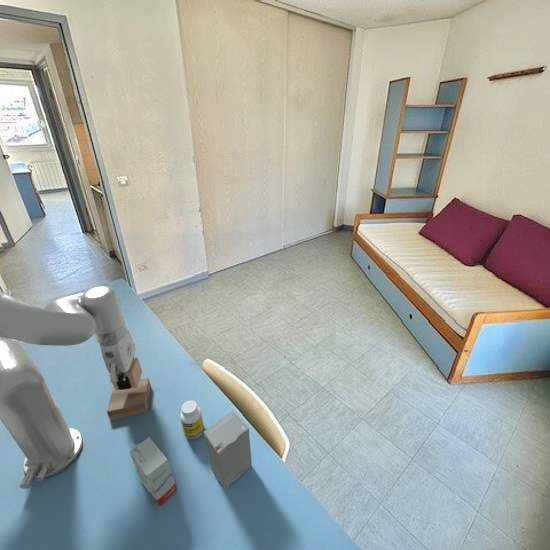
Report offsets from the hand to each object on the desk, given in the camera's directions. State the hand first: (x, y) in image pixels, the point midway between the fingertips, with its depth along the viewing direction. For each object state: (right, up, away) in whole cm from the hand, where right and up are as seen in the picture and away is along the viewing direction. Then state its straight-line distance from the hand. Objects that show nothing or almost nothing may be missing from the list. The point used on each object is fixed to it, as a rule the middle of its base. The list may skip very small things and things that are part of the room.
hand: (128, 378), depth 89 cm
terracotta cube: (0, -1, 0) cm, 1 cm away
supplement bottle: (+21, -13, -5) cm, 25 cm away
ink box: (+16, -19, -17) cm, 30 cm away
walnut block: (-1, -8, +3) cm, 9 cm away
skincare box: (+32, -17, -14) cm, 39 cm away
